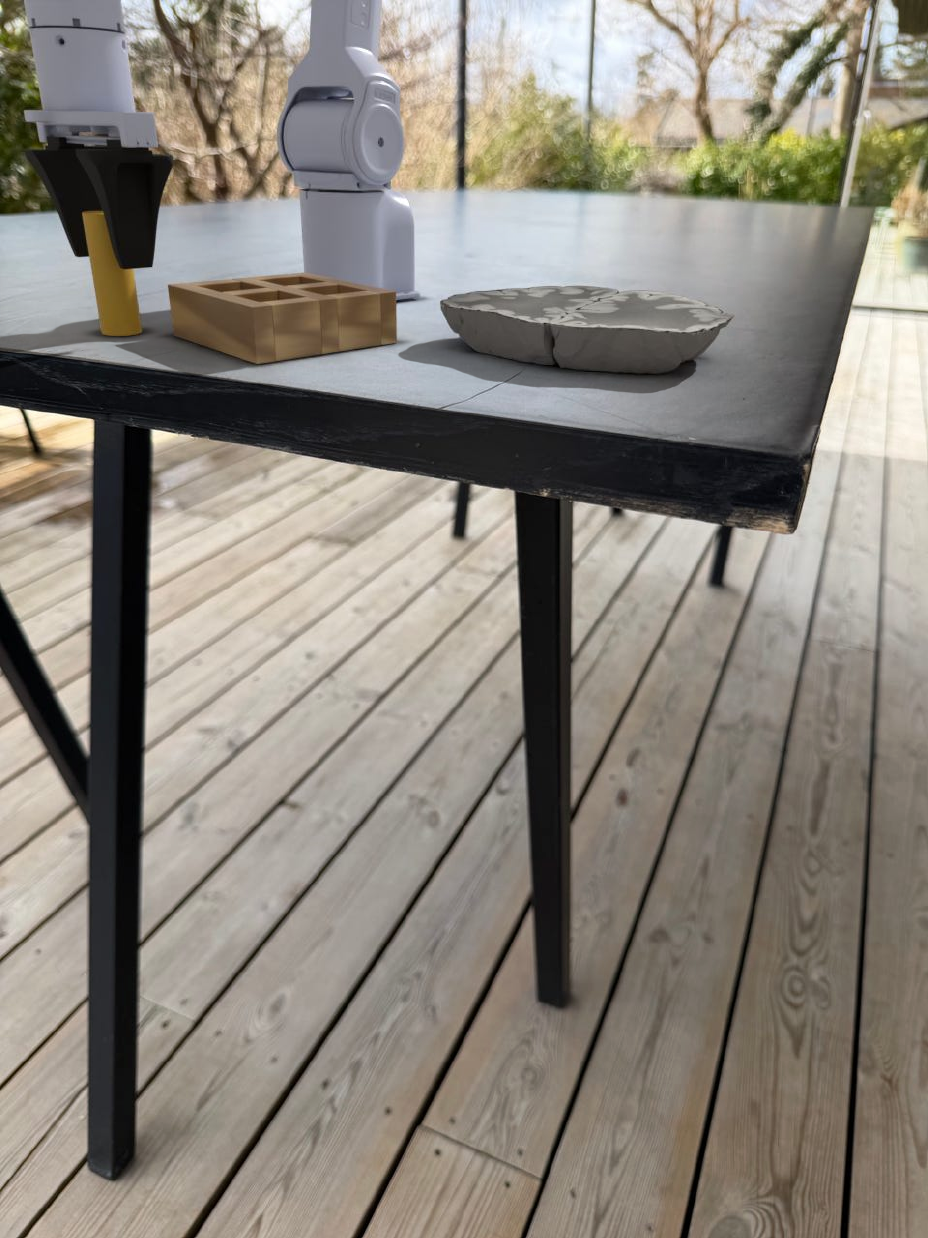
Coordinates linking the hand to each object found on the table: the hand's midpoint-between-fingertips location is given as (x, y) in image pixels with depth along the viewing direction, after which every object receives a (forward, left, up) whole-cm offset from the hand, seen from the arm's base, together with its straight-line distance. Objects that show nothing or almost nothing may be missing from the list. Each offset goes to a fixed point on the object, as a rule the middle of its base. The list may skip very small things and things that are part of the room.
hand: (112, 261), depth 64 cm
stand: (-8, +9, -5) cm, 13 cm away
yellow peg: (0, 0, -5) cm, 5 cm away
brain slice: (-23, +24, -5) cm, 34 cm away
